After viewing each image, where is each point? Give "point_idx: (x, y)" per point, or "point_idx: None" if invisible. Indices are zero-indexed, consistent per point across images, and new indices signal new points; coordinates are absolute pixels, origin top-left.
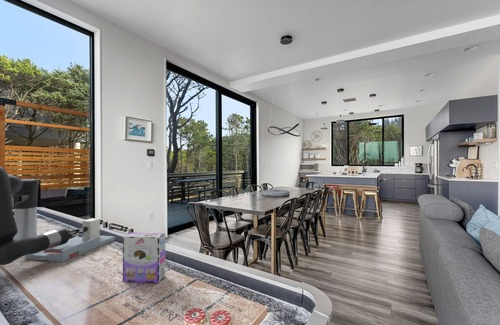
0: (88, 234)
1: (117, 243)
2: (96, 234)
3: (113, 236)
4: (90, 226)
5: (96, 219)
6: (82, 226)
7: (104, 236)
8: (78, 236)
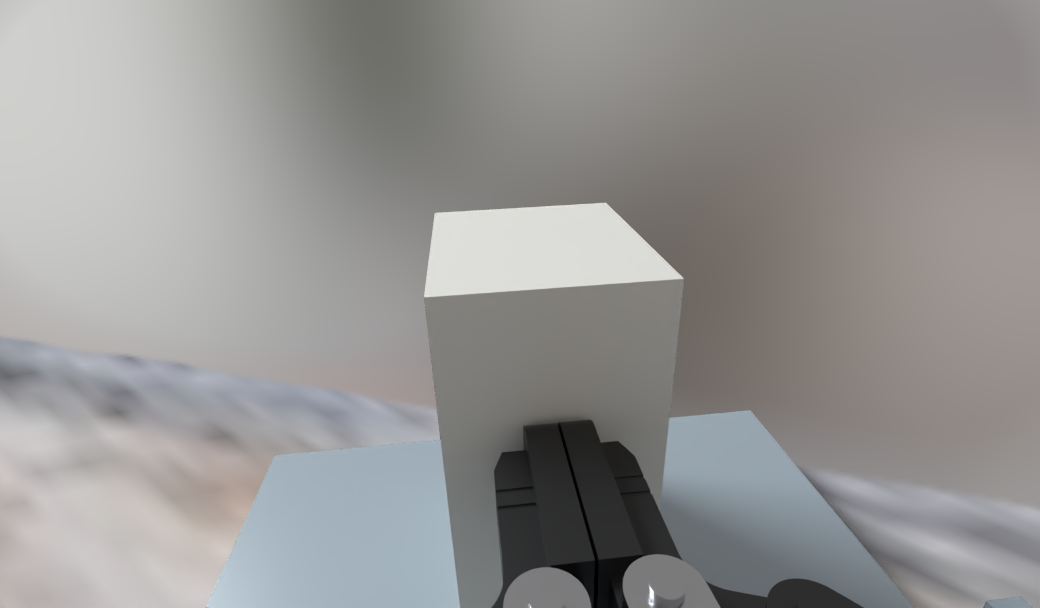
0: None
1: (940, 512)
2: None
3: (738, 413)
4: (667, 394)
5: (606, 220)
6: (442, 425)
7: None
8: (249, 534)
